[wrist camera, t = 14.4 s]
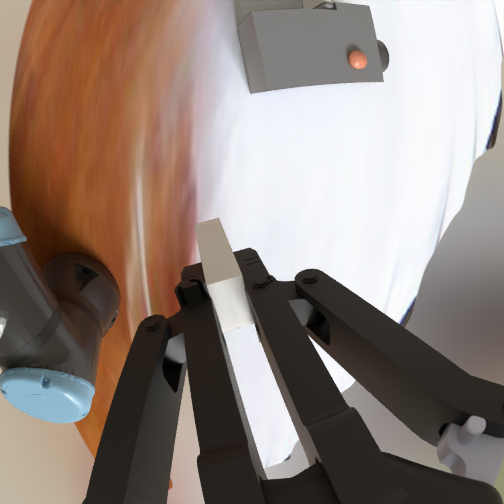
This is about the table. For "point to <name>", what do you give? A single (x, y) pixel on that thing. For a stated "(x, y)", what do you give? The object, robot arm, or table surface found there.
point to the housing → (311, 47)
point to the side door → (317, 4)
